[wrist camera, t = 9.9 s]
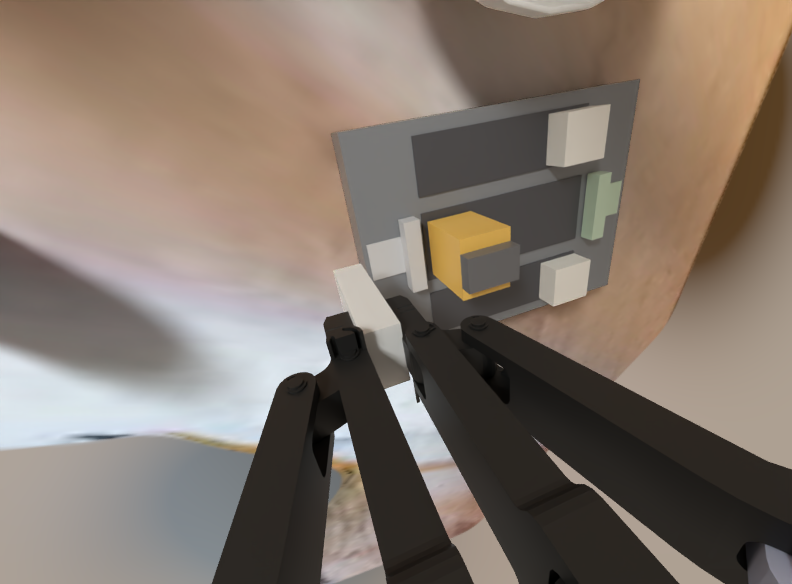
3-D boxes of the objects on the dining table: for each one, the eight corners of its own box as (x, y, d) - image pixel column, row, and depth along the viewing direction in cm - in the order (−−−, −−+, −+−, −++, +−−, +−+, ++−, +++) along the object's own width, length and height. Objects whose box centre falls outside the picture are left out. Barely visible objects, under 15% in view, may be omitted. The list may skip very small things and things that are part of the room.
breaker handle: (432, 274, 22) (470, 307, 18) (426, 221, 21) (466, 244, 16) (473, 262, 23) (519, 292, 19) (471, 210, 21) (520, 229, 17)
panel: (376, 340, 26) (392, 373, 23) (330, 133, 20) (343, 132, 16) (584, 274, 31) (625, 292, 27) (607, 84, 24) (666, 74, 20)
